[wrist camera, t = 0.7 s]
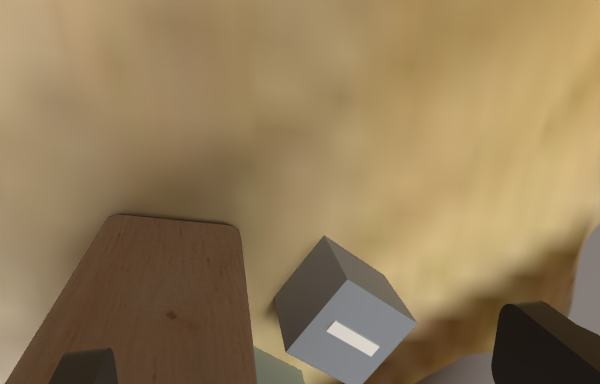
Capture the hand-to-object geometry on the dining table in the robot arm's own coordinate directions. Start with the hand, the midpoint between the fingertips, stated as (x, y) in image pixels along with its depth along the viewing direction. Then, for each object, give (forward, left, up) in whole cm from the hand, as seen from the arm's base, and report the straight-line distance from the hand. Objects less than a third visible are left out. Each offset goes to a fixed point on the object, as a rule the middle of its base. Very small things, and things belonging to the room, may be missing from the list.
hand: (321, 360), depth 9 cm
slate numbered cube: (+7, +14, -25) cm, 29 cm away
